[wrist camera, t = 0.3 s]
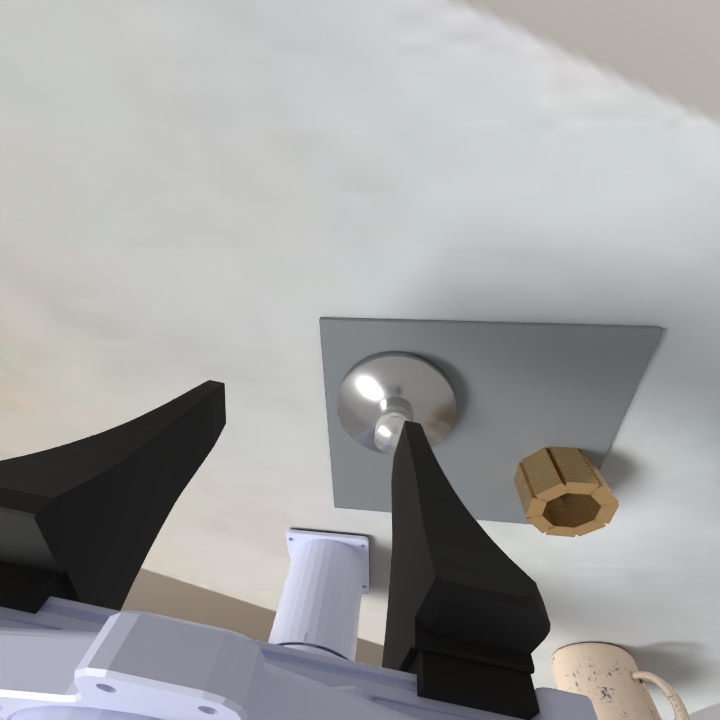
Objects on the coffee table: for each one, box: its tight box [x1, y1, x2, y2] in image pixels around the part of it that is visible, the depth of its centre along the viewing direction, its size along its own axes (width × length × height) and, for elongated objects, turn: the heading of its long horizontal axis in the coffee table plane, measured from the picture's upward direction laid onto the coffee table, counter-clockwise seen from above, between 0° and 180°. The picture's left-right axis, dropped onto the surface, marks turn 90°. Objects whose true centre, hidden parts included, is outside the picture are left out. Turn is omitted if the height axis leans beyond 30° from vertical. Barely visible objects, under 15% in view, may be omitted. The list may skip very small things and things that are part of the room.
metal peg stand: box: [337, 351, 457, 455], centre depth 23 cm, size 8×8×4 cm
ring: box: [514, 446, 619, 537], centre depth 25 cm, size 5×5×3 cm
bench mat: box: [319, 317, 663, 524], centre depth 26 cm, size 18×20×1 cm
